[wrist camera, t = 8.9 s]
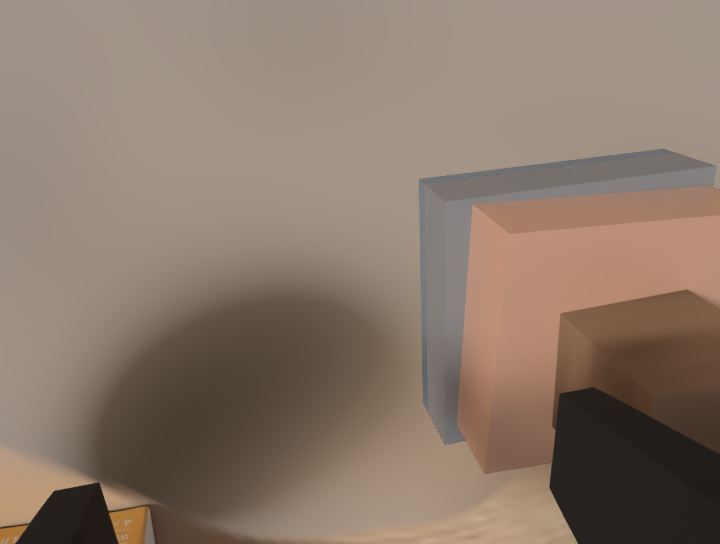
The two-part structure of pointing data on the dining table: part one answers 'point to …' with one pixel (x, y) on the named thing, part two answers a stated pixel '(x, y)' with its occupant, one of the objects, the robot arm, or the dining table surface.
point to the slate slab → (452, 241)
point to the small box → (127, 524)
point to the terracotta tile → (564, 297)
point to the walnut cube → (648, 359)
